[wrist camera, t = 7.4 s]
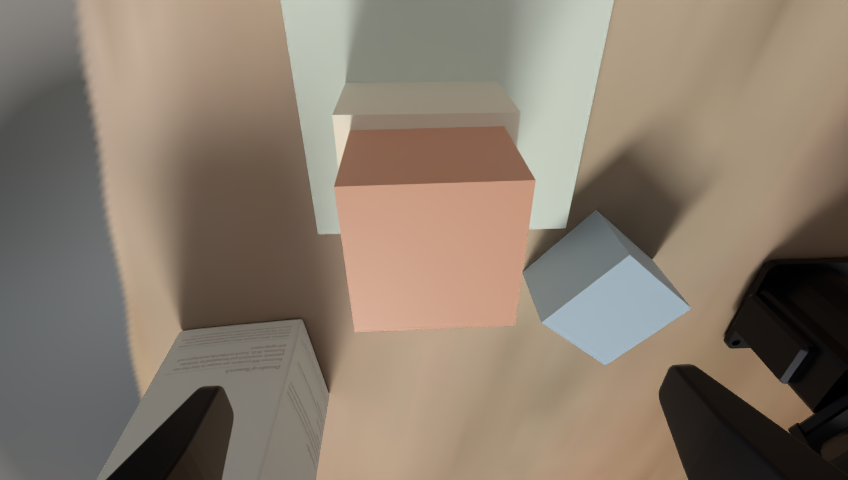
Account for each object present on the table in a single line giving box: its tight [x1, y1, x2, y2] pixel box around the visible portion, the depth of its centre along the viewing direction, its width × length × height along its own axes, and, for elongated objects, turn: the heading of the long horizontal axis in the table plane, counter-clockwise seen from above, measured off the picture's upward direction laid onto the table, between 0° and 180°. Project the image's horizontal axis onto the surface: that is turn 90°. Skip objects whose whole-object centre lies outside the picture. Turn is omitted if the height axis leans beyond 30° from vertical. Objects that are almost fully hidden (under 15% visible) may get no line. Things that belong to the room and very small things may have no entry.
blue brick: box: [523, 210, 692, 365], centre depth 22 cm, size 5×5×4 cm
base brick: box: [332, 81, 521, 170], centre depth 17 cm, size 6×6×4 cm
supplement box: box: [97, 319, 329, 480], centre depth 22 cm, size 7×7×13 cm
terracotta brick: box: [334, 126, 536, 332], centre depth 14 cm, size 5×5×4 cm
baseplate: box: [280, 0, 614, 234], centre depth 19 cm, size 12×10×1 cm
